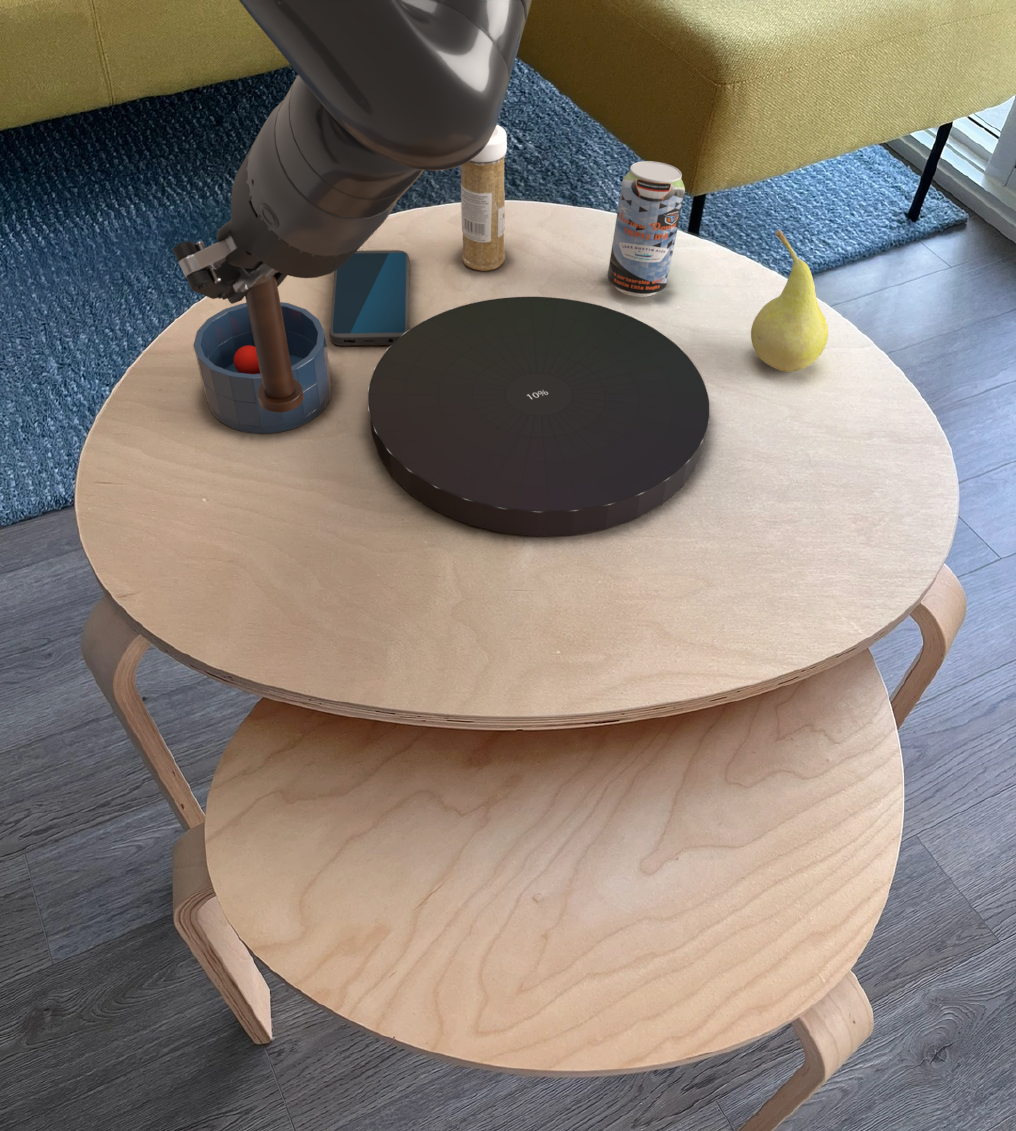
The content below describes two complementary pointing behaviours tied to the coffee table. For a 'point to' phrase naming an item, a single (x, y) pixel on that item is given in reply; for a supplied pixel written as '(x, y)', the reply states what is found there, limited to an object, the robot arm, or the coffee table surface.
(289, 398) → the stick
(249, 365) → the red ball
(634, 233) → the beverage can
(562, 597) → the coffee table surface
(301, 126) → the robot arm
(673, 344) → the disc
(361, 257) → the smartphone
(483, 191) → the spice jar
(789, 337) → the fruit
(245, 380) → the bowl
